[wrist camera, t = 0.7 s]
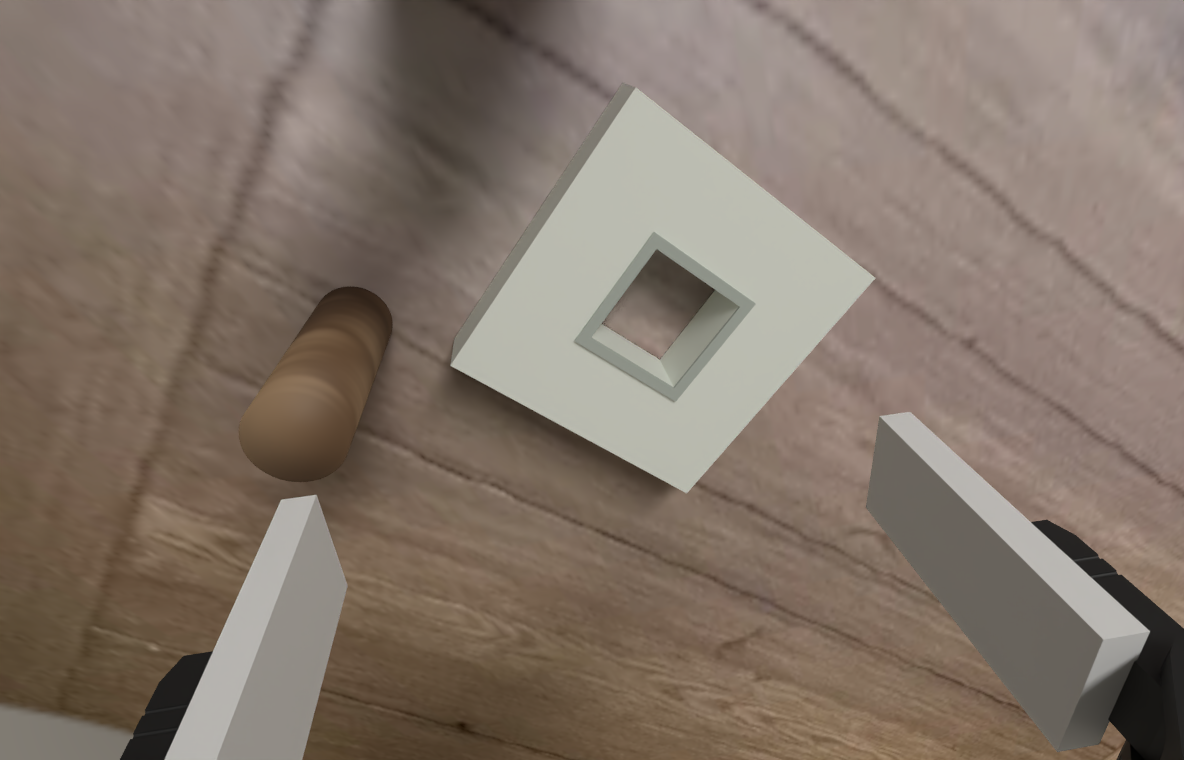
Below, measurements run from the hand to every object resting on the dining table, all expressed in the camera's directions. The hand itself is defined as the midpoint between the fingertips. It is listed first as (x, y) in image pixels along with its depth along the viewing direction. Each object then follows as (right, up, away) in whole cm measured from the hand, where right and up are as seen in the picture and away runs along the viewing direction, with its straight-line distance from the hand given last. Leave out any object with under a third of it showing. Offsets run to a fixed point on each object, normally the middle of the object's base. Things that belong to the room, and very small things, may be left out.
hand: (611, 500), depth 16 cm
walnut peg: (-13, +6, +21) cm, 25 cm away
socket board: (+3, +7, +22) cm, 23 cm away
